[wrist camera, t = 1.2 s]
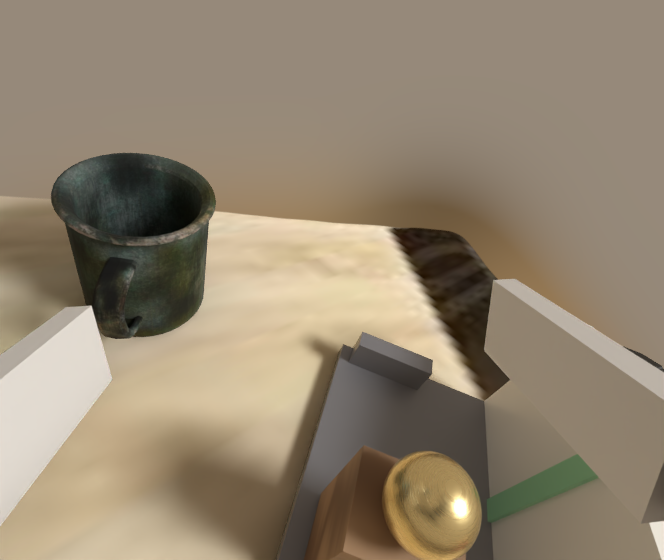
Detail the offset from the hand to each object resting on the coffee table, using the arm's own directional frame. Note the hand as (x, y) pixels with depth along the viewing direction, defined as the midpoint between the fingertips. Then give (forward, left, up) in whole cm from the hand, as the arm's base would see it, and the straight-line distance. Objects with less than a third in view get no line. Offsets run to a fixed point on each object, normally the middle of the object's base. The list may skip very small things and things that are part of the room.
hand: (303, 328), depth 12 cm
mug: (-17, +7, -21) cm, 28 cm away
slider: (+8, +2, -19) cm, 20 cm away
